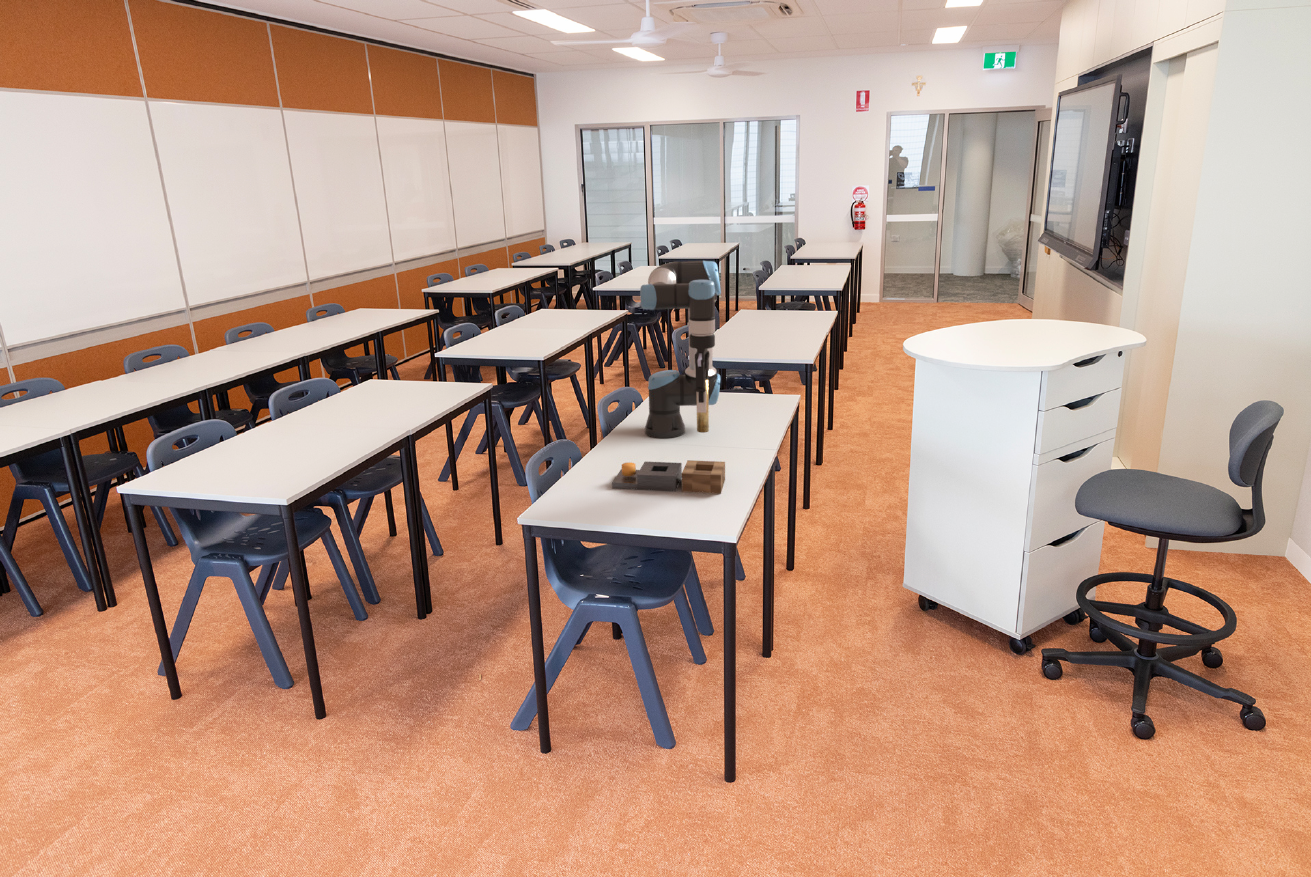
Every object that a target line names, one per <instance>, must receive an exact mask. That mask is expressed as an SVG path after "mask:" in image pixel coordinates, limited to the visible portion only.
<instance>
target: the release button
mask: <svg viewBox="0 0 1311 877" xmlns="http://www.w3.org/2000/svg"><path fill="white" fill-rule="evenodd" d="M636 466H637V465H636V463H635V462H630V461H629V462H624V463H622V464H621V469H622V475H624V476H633V475H635V474H636V470H637V469H636Z"/></svg>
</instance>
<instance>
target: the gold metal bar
mask: <svg viewBox="0 0 1311 877" xmlns="http://www.w3.org/2000/svg"><path fill="white" fill-rule="evenodd" d="M705 389H706V413H700V412H697V411H696V432H697V433H703V434H704V433H709V430H710V422H709V421H710V419H709V417H710V416H709V412H710V411H709V407H710V405H709V393H708V379H706V382H705Z"/></svg>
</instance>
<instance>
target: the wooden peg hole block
mask: <svg viewBox="0 0 1311 877" xmlns="http://www.w3.org/2000/svg"><path fill="white" fill-rule="evenodd" d="M725 481H726V461H715V460H714V461H713V460H691V459H690V460H687V461H686V463H685V465H684V468H683V469H682V478H681V492H682V493H697V494H698V493H699V494H700V493H703V494H717V495H718V494H722V492H723V487H724V484H725Z"/></svg>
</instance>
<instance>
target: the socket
mask: <svg viewBox="0 0 1311 877" xmlns="http://www.w3.org/2000/svg"><path fill="white" fill-rule="evenodd" d="M682 465H683V464H682V462H666V461H665V462H663V461H644V462H643V463H642V465H641V467H640V469H636V474H635V475H633V476H624V475H622V468H621V469H620V470H619V471H618V472H617V475H616V476H615V478H614V480H613V481H612V482H611V483H612V489H614V490H616V489H617V490H633V491H634V490H635V491H636V490H637V491H638V490H639V491H640V490H642V491H655V492H659V491H660V492H676V491H677V489H678V487H679V485H680V482H681V481H682V472H683V469H682V468H683V467H682Z"/></svg>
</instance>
